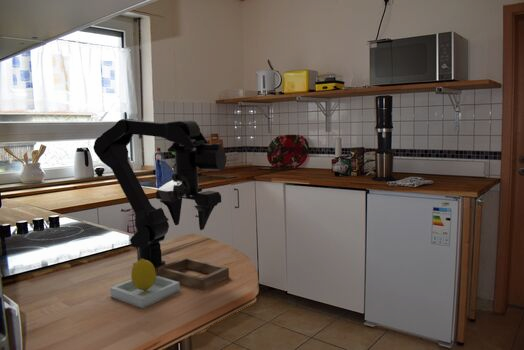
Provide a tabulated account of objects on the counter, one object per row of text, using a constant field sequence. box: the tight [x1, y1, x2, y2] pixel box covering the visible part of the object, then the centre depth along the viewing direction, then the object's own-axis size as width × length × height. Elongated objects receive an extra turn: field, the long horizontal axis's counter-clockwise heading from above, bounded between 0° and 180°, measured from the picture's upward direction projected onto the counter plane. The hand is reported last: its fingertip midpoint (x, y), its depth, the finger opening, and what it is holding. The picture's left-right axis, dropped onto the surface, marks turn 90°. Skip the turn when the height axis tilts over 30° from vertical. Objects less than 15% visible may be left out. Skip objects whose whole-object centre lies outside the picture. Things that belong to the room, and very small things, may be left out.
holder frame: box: [157, 256, 230, 291], centre depth 113 cm, size 15×10×2 cm, turn 55°
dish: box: [109, 274, 181, 309], centre depth 102 cm, size 11×11×2 cm
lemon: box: [130, 259, 157, 292], centre depth 102 cm, size 6×6×8 cm
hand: (189, 227), depth 116 cm, fingers open, 9 cm apart
